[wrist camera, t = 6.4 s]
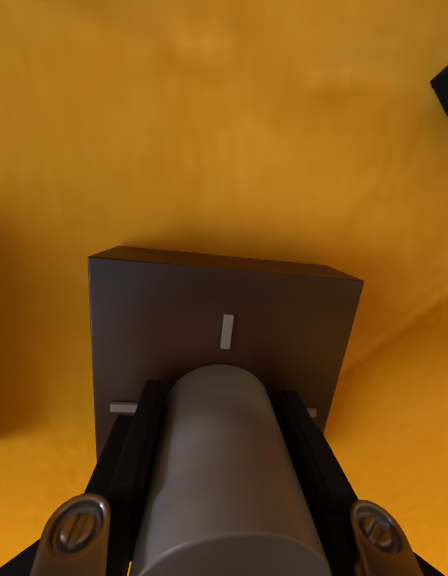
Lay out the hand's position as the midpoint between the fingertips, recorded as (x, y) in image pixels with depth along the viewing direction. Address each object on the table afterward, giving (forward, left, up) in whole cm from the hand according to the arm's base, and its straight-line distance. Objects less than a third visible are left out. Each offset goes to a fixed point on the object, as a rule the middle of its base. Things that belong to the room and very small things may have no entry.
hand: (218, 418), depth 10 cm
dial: (0, 0, -1) cm, 1 cm away
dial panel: (0, 0, -4) cm, 4 cm away
